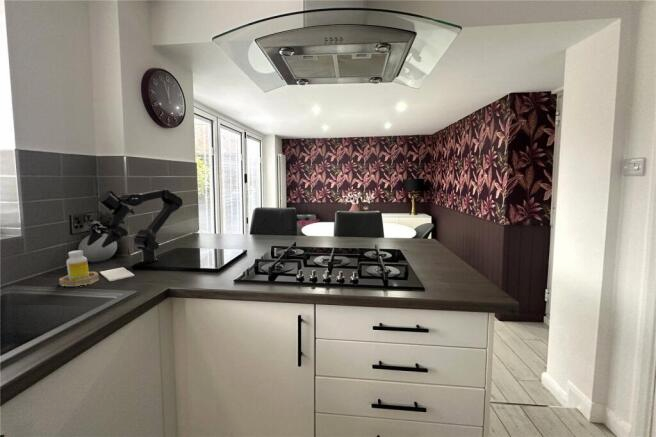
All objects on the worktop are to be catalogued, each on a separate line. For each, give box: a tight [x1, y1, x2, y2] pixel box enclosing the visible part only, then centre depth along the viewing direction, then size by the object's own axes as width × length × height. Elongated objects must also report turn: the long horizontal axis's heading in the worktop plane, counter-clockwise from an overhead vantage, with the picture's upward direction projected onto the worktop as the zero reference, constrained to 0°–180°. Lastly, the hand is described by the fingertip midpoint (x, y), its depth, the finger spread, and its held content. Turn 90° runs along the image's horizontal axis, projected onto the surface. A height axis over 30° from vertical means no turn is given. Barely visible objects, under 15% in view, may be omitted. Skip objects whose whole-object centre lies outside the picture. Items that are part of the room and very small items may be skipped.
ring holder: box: [58, 271, 100, 287], centre depth 131 cm, size 12×12×2 cm
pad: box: [99, 266, 135, 282], centre depth 140 cm, size 16×9×1 cm, turn 47°
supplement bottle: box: [65, 249, 90, 281], centre depth 130 cm, size 7×7×13 cm
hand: (95, 246), depth 136 cm, fingers open, 9 cm apart
